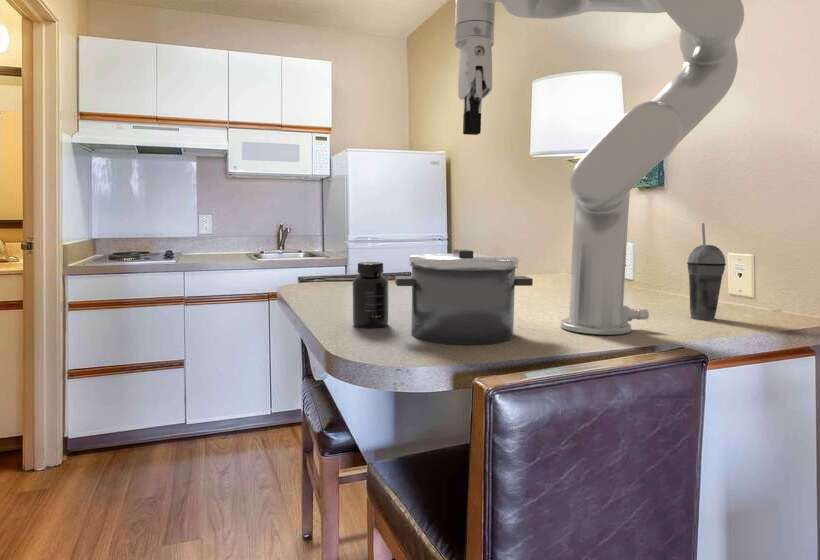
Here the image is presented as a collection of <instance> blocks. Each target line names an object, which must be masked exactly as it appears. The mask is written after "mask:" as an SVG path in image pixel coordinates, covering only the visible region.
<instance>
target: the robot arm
mask: <svg viewBox="0 0 820 560" xmlns="http://www.w3.org/2000/svg"><path fill="white" fill-rule="evenodd" d="M497 2H499V3H501V4H502V7H504V9H505V10H506V12H508V13H509V14H510V15H512V16H514V17H517V18H520V19H521V18H524V19H539V20H540V19H541V20H554V19H563V18H566V17H572V16H578V15H581V14H584V13H589V12H603V13H604V12H608V13H609V12H611V13H612V12H613V13H614V12H615V13H636V14H637V13H638V14H660V13H661V14H662V13H666V15H668V16H669V17H670V19H671V20H672V21H673V22H674V23H675V24H676V25H677V26H678V27H679V29H680V34H679V49H680V51H681V54H682V59H683V66H682V68H681V70H680V71H679V72H678V74H677V75H675V76H674V78H672V79H671V80H670V81H669V82H668V83H667V84H666V85H665V86H664V87H663V88H662V90H661V91H659V92H658V94H657V95H656V96H655V97H654V98H652V100H650V101H644V102H641V103H639V104H636V105H635V106H633V107H632V108H630V109H629V110H627V111H626V112H625V113H624V114H623V115H622V116H621V117H620V118H619V119H618V120H617V121H616V122H615V123H614V124H613V125H612V126H611V127H610V128H609V129H608V130H607V131H606V132H605V133H604V134H603V135H602V136H601V137H600V138H599V140H597V142H595V143H594V144H593V146H591V148H590V149H588V151H587V152H586V153H585V154H584V155H582V157H581V158H580V159H579V160H578V161H577V163H575V165H574V168H573V169H572V171H571V173H570V177H569V186H570V191H571V194H572V196H573V197H574V209H573V210H574V213H573V222H572V223H573V225H572V228H573V229H572V245H571V264H570V265H571V266H570V267H571V269H570V290H569V291H570V292H569V293H570V294H569V315H568V316H569V317H565V318H563V319H561V320H560V328H562V329H565V330H567V331H571V332H575V333H580V334H581V333H582V334H589V335H599V336H600V335H603V336H605V335H606V336H607V335H608V336H612V335H613V336H614V335H625V334H628V333H630V332H631V331H632V325H631V323H629V322H632V321H633V320H641V321H642V320H646V321H647V320H648V319H649V318H650V317H649V315H650V313H649V311H648V309H644V308H643V309H642V308H641V309H634V308H631V307H629V306H627V305H624V304H625V303H624V298H625V280H626V262H627V261H626V260H627V247H628V230H629V229H628V228H629V227H628V225H629V212H630V211H629V208H630V199H631V198H630V196H631V190H632V189H633V188H634V187H635V186H636V185H637V184H638V183H640V181H642V180H643V178H645V177H646V176H647V174H649V173H650V172H651V171H652V170H653V169H654V168H655V167H657V165H658V164H659V163H660V162H662V161H663V160H665V159H666V158H667V157H669V156H670V155H671V154H672V153H673V152H674V150H675V149H676V147H677V146H678V145H679V144H680V143H681V142H682V141H683V140H684V139H685V138H686V137H687V135H689V134H690V132H691V131H692V132H693V130H694V129H695V128H696V127H697V126H698V125H699V124H700V123H701V122H702V121H703V120H704V119H705V118H706V116H707V115H709V113H710V112H712V111H713V109H714V108H715V107H717V105H718V104H719V103H720V102H722V100H723V98H725V97H726V95H727V94H728V92H729V91H730V89H731V88H732V85H733V83H734V80H735V78H736V75H737V69H738V61H739V60H738V54H737V53H738V52H737V46H736V45H737V44H736V39H737V38H738V35H739V34H740V31H741V29H742V27H743V23H744V20H745V9H744V4H743V2H742V0H455V26H454V27H455V28H454V46H455V48H457V49H459V59H458V76H457V80H458V81H457V83H458V84H457V86H458V87H457V96H458V98H459V100H461V101H462V100H463V115H462V116H463V118H462V120H463V121H462V124H463V125H462V134H463V135H466V136H467V135H470V136H471V135H472V136H478V135H479V134H481V130H482V129H481V127H482V113H481V112H482V104H483V103H482V101H483V100H484V99H485V98H486V97H487V96H488V95H490V94H491V92H492V90H493V51H492V47H494V45H495V44H494V43H495V15H496V13H495V12H496V11H495V9H496V3H497Z"/></svg>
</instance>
